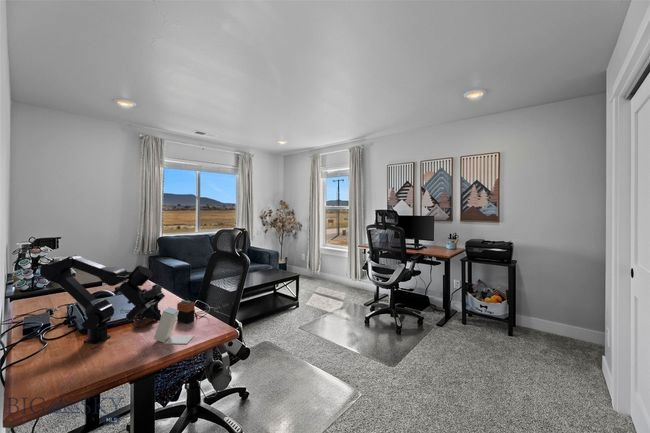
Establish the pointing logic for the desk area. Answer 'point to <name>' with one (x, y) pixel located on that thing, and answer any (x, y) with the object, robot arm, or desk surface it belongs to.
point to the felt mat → (179, 339)
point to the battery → (185, 311)
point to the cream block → (166, 324)
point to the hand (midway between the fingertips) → (161, 320)
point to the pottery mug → (141, 320)
